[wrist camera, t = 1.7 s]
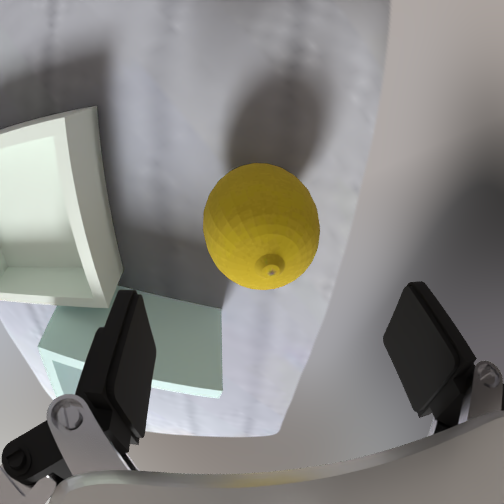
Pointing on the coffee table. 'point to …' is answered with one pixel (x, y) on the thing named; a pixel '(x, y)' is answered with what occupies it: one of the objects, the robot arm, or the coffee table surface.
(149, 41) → the coffee table surface
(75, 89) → the coffee table surface
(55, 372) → the l-shaped corner panel
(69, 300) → the bin
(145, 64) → the coffee table surface
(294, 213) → the lemon
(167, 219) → the coffee table surface
